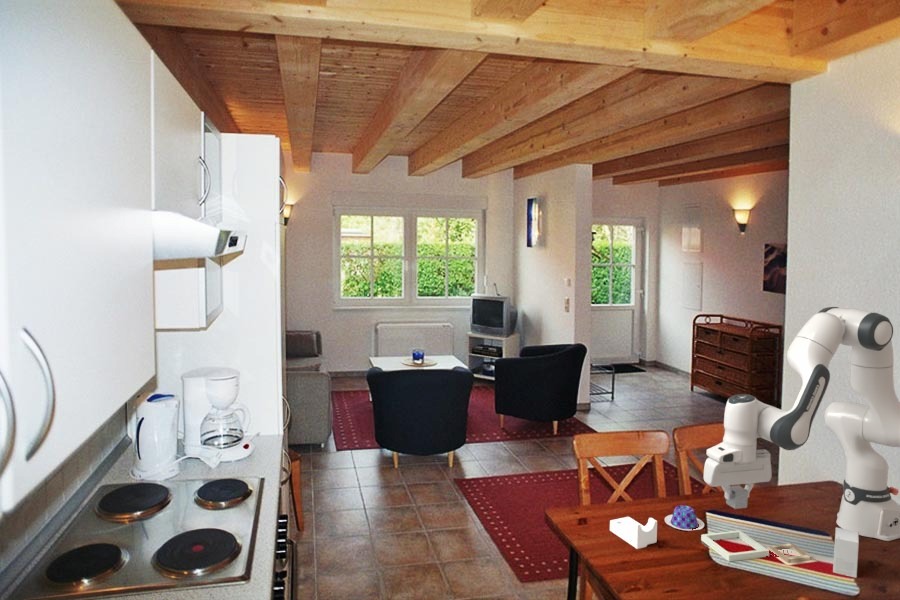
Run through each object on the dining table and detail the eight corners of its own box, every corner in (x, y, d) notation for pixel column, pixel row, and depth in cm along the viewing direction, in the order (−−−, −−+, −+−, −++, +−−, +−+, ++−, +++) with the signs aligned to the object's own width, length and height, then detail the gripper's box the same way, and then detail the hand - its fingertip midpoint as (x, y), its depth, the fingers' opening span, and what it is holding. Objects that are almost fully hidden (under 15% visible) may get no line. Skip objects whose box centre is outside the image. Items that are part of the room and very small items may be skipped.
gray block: (738, 502, 192) (738, 485, 191) (747, 507, 188) (747, 490, 187) (726, 503, 191) (726, 486, 190) (734, 508, 187) (735, 492, 187)
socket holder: (792, 547, 193) (792, 541, 193) (818, 563, 183) (818, 557, 183) (762, 550, 191) (763, 544, 191) (787, 567, 181) (787, 561, 181)
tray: (739, 538, 199) (739, 530, 198) (768, 558, 186) (769, 550, 186) (701, 542, 196) (701, 534, 196) (728, 564, 183) (729, 555, 183)
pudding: (689, 536, 200) (690, 520, 200) (656, 522, 210) (657, 506, 210) (712, 526, 207) (712, 510, 207) (679, 513, 217) (679, 497, 217)
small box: (856, 580, 175) (859, 543, 173) (832, 575, 178) (834, 537, 176) (856, 567, 181) (859, 531, 180) (833, 562, 184) (835, 526, 183)
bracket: (656, 545, 195) (657, 521, 194) (637, 549, 192) (637, 525, 191) (628, 527, 207) (629, 504, 206) (609, 531, 204) (610, 507, 203)
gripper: (762, 445, 193) (760, 490, 195) (701, 450, 189) (699, 496, 190) (778, 452, 187) (775, 499, 189) (714, 457, 183) (712, 505, 184)
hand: (736, 497), depth 189 cm, fingers closed on gray block, 4 cm apart
